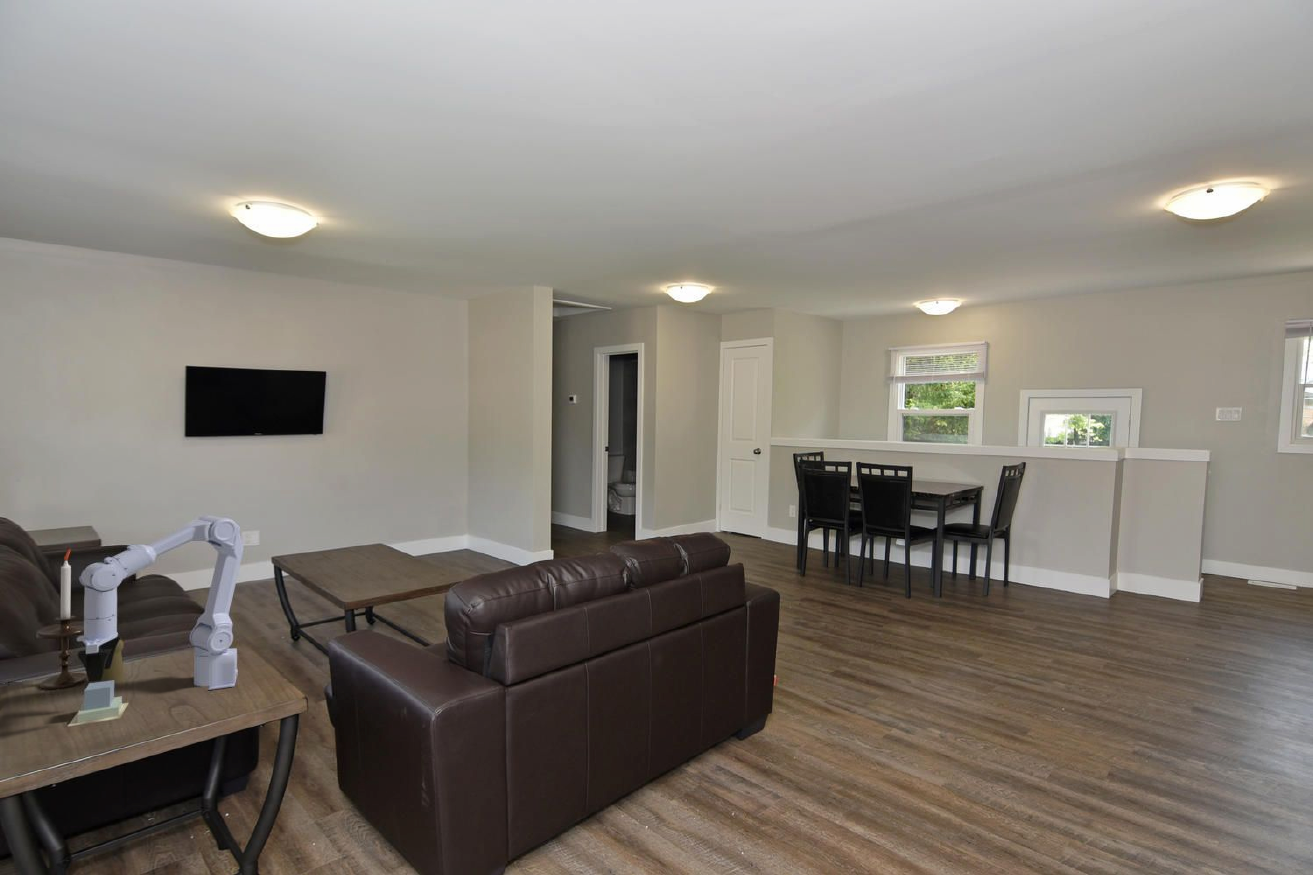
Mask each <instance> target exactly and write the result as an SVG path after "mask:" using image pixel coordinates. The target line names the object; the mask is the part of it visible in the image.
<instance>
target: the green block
mask: <svg viewBox="0 0 1313 875" xmlns="http://www.w3.org/2000/svg"><path fill="white" fill-rule="evenodd" d="M122 701H123V695H122V696H121V695H120V696H116V697H115V696H114V700H113V701H112V703H111V705H110V707H104V708H97V709H90V710H84V702H82V704H81V706H80V709H79V710H80V711H79V710H78V711H79V713H78V712H77V713H78V723H82V722H87V721H93V720H98V719H104V718H109V717H115V716H119V713H120V709H121V705H122V704H123V702H122Z"/></svg>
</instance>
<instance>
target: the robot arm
mask: <svg viewBox="0 0 1313 875" xmlns="http://www.w3.org/2000/svg"><path fill="white" fill-rule="evenodd" d="M240 532H241V527H240V525H238V524H237V523H236V522H235V521H234V520H233V519H231V518H229V517H227V518H226V517H224V518H223V517H219V516H214V515H211V514H207V515H203V516H200V517H199V518H195V519H193V520H190V521H189V522H188V523H186V524H185V525H183V526H181V527H179V528H178V529H177V528H176V529H175V530H174V531H172V532H170V533H168V534H167V535H164V536H163V537H161V538H159V539H157V540H155V541H153V542H151V543H150V544H148V545H145V544H140V543H139V544H137V545H135V544H130V545H128V546H127V547H126V550H124V551H122V552H120V553H118V554H116V555H114V556H112V557H110V556H107V557H105V558H104V559H103V562H95V563H91V564H90V565H88V566H86V567H85V569H83V571H82V573H81V575H80V576H79V577H78V579H79V582H80V584H81V585H82V586H83V587H84V599H83V603H84V605H83V607H84V608H83V621H84V633H83V635H78V636H77V638H76V641H77V642H83V643H84V645H85V649H84V650H79V651H78V652H77V659H79V661H81V664H82V665H83V668H84V670H85V673H86V674H87V677H88V680H87V681H89V683H94V682H96V681H100V680H102V677H103V674H104V669H110V667H111V664H112V661H113V656H114V652H115V649H116V647H117V644H118V642H119V640H122V634H119V633H118V631H117V630H118V628H117V627H118V587H119V586H120V584H121V583H122V581H123V580H124V579H126V578H129V577H130V576H132V575H135V574H137V573H138V572H141V571H142V570H145V569H146V568H148V567H150V566H152V565H154V562H155V560H156V558H157V557H159V556H161V555H164V554H166V553H168V552H170V551H173V550H174V549H176V548H179V547H180V546H183V545H185V544H187V543H190V542H207V543H208V544H210V546H212V547H213V548H214V549H215V551H217V553H218V554H217V558H216V563H215V566H214V570H213V575H212V579H211V583H210V588H209V593H208V596H207V600H206V605H205V609H204V612H203V613H202V614H201V615H200V616H198V618H197V621H196V624H195V626H194V627H193V629H192V630H191V631H190V633H189V641H190V643H191V645H192V646H194V652H193V653H194V655H193V657H194V658H193V659H194V660H193V662H194V663H193V684H194V686H196V687H208V691H210V690H212V691H213V690H218V689H225V688H230V687H235V685H236V681H237V677H238V673H239V670H238V649H237V648H236V647H235V648H233V647H232V648H230V647H231V645H232V644H233V640H234V635H233V632H232V631H233V622H232V619H231V617H230V610H231V605H232V603H233V602H232V601H233V596H234V593H235V588H236V584H237V579H238V575H239V570H240V566H241V562H242V559H243V553H244V549H245V548H244V547H245V546H244V543H243V539H242V537H241V533H240Z"/></svg>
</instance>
